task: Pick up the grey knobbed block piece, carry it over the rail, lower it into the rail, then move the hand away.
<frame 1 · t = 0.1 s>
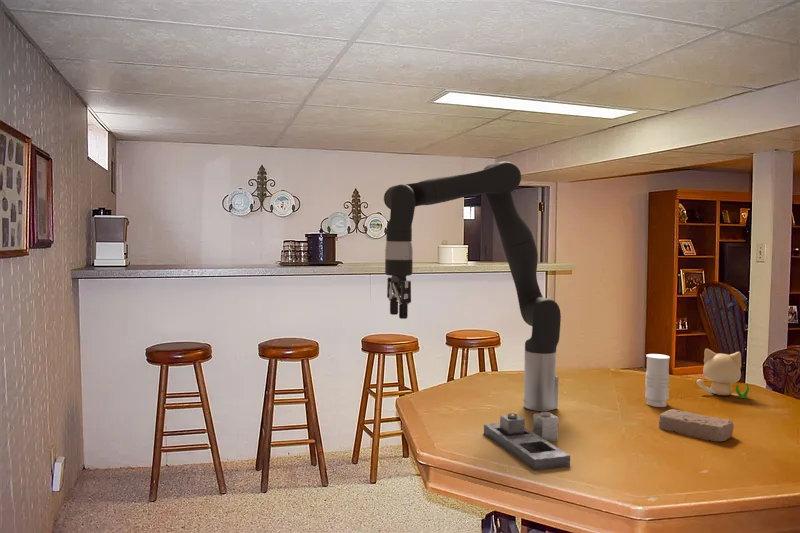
hand: (398, 316, 169), 29 cm above the table, fingers open, 8 cm apart
grey boxy knobbed piece: (511, 440, 155), resting in rail
kitten: (722, 395, 201), on the table
grey knobbed block piece: (545, 438, 156), on the table
brick: (694, 434, 162), on the table
rail: (523, 448, 149), on the table
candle: (656, 404, 189), on the table
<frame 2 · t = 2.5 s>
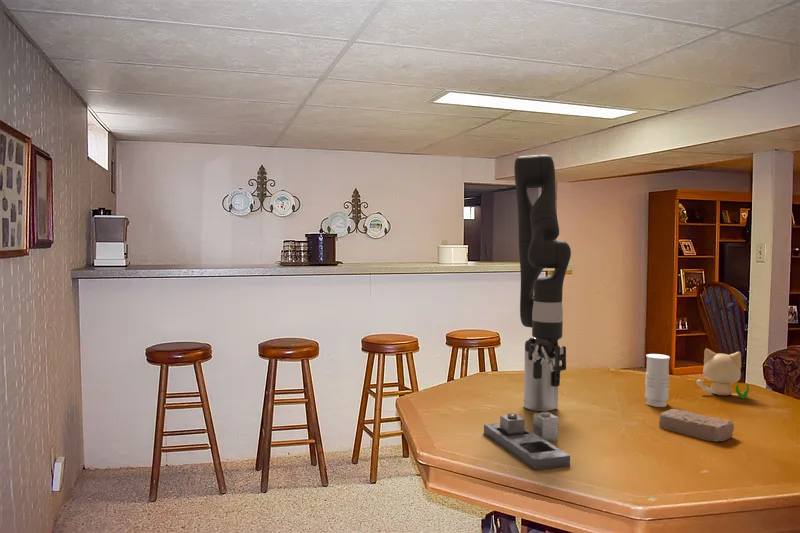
hand: (545, 382, 156), 15 cm above the table, fingers open, 8 cm apart
nothing on the table moved.
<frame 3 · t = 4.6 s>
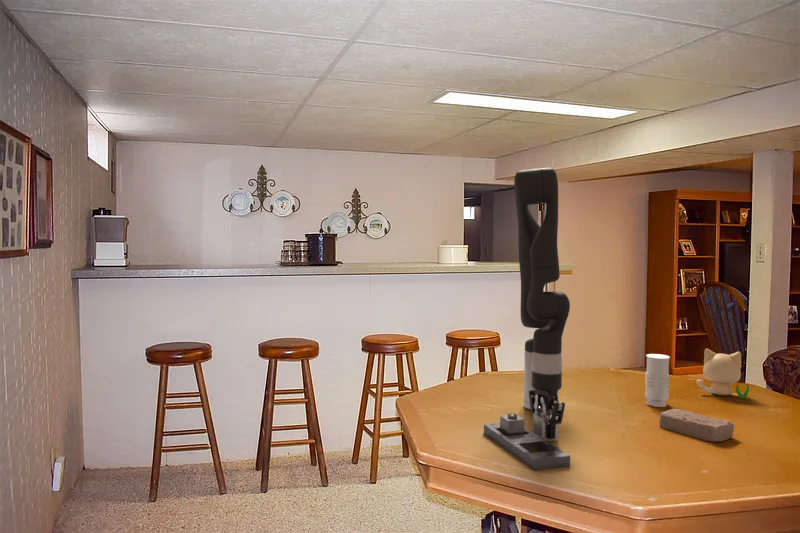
hand: (545, 435, 156), 1 cm above the table, fingers closed on grey knobbed block piece, 4 cm apart
grey knobbed block piece: (545, 438, 156), on the table, touching gripper
everything else where it was.
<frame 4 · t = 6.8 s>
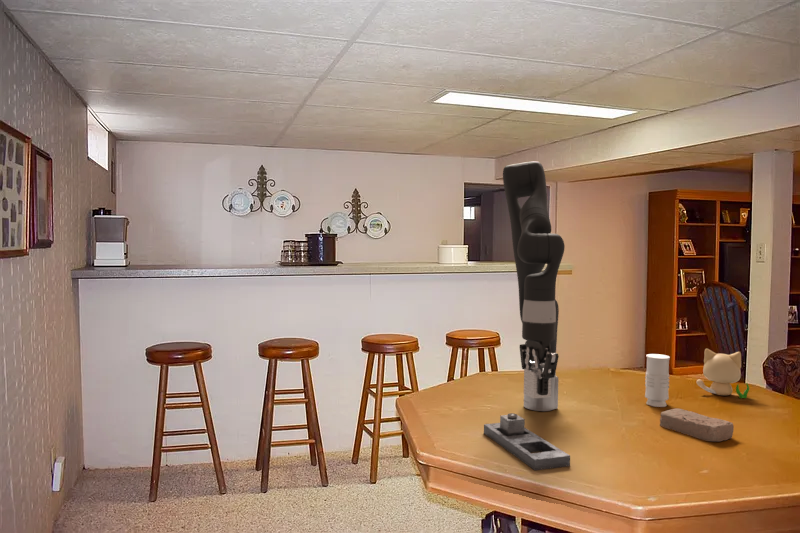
hand: (537, 391, 142), 16 cm above the table, fingers closed on grey knobbed block piece, 4 cm apart
grey knobbed block piece: (536, 395, 142), point 15 cm above the table, touching gripper
everything else where it was.
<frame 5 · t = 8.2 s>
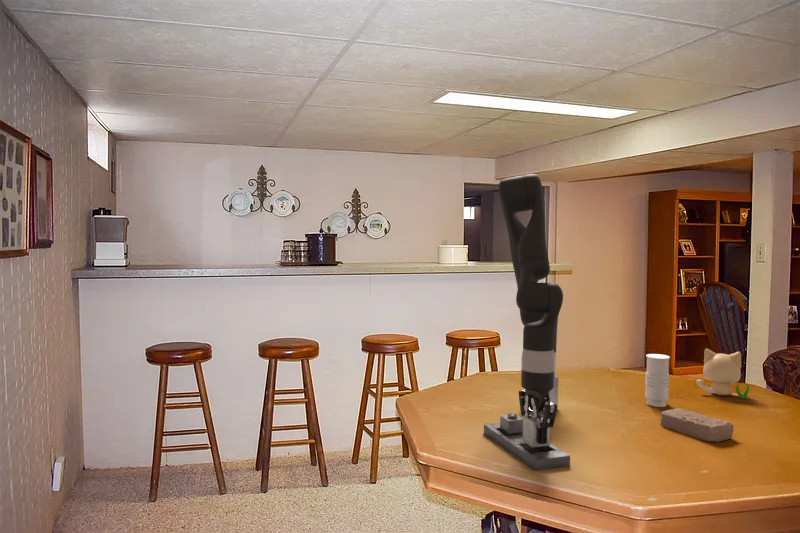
hand: (536, 439, 143), 4 cm above the table, fingers closed on grey knobbed block piece, 4 cm apart
grey knobbed block piece: (535, 443, 143), point 3 cm above the table, touching gripper
when the fingers open (3 cm above the table, at t = 9.2 s): grey knobbed block piece drops 2 cm, resting in rail.
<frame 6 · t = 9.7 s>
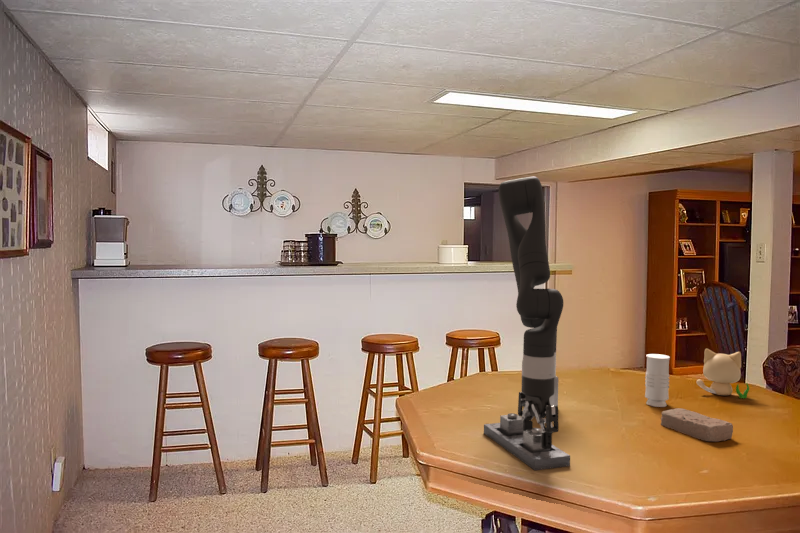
hand: (536, 442, 143), 4 cm above the table, fingers open, 8 cm apart
grey knobbed block piece: (536, 457, 143), resting in rail
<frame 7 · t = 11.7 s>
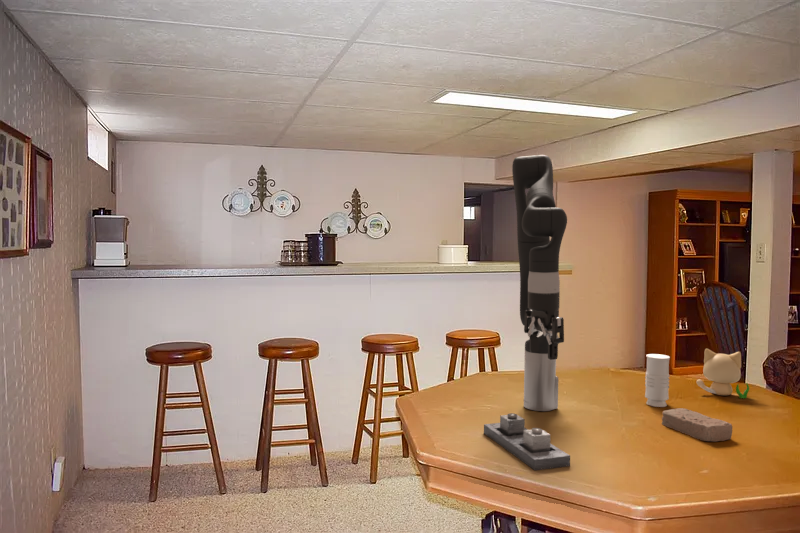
hand: (543, 355, 150), 23 cm above the table, fingers open, 8 cm apart
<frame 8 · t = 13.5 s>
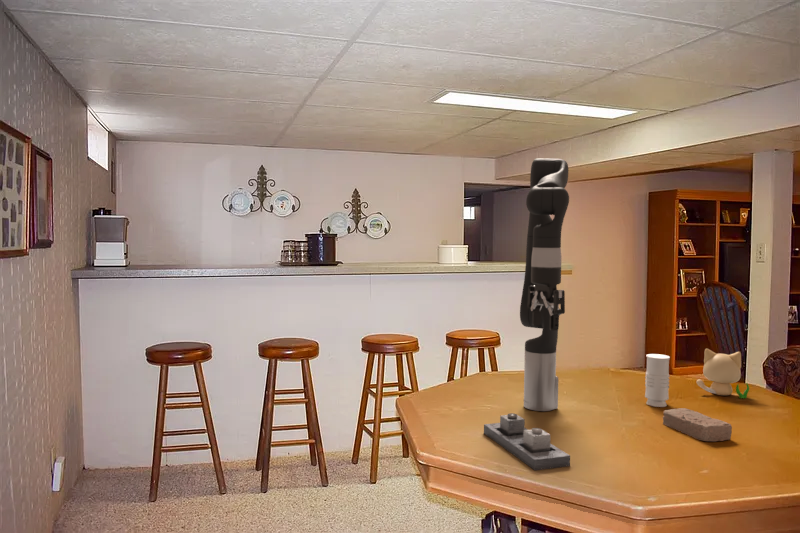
hand: (544, 327, 158), 28 cm above the table, fingers open, 8 cm apart
at the end: grey knobbed block piece 0.0 cm from the target spot on the rail, point 0.0 cm above the rail's base; grey knobbed block piece tilted 0°; the gripper is holding nothing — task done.
